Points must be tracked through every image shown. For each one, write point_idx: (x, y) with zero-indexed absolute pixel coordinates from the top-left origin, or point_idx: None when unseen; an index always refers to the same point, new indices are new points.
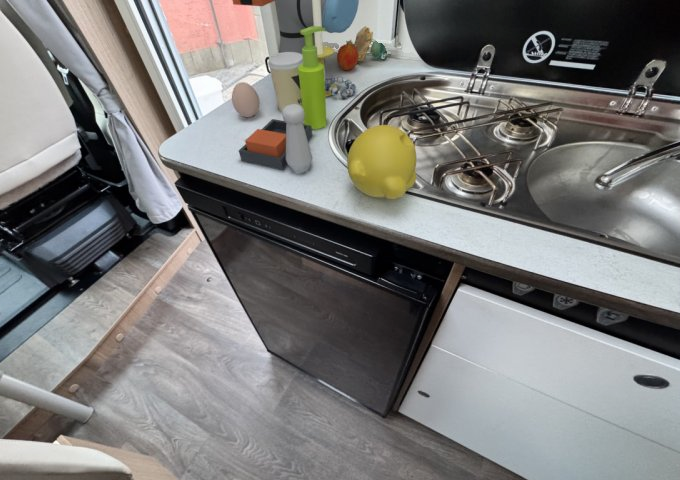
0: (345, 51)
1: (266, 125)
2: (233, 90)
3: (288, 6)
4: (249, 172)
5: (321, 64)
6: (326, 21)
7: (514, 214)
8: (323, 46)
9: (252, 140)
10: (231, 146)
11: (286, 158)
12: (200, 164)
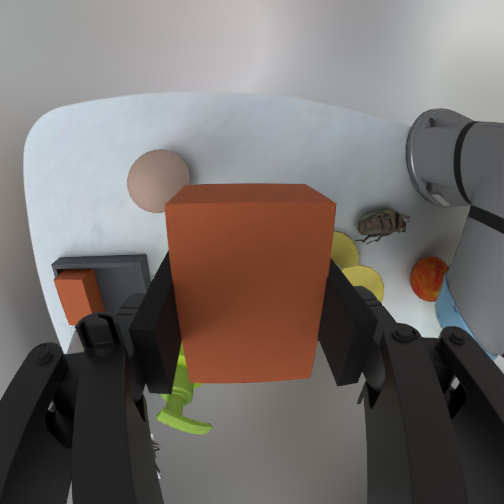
0: (425, 289)
1: (117, 264)
2: (134, 170)
3: (496, 181)
4: (52, 281)
5: (196, 385)
6: (443, 295)
7: (153, 451)
8: (383, 293)
9: (59, 289)
10: (74, 217)
11: (74, 332)
12: (30, 207)
